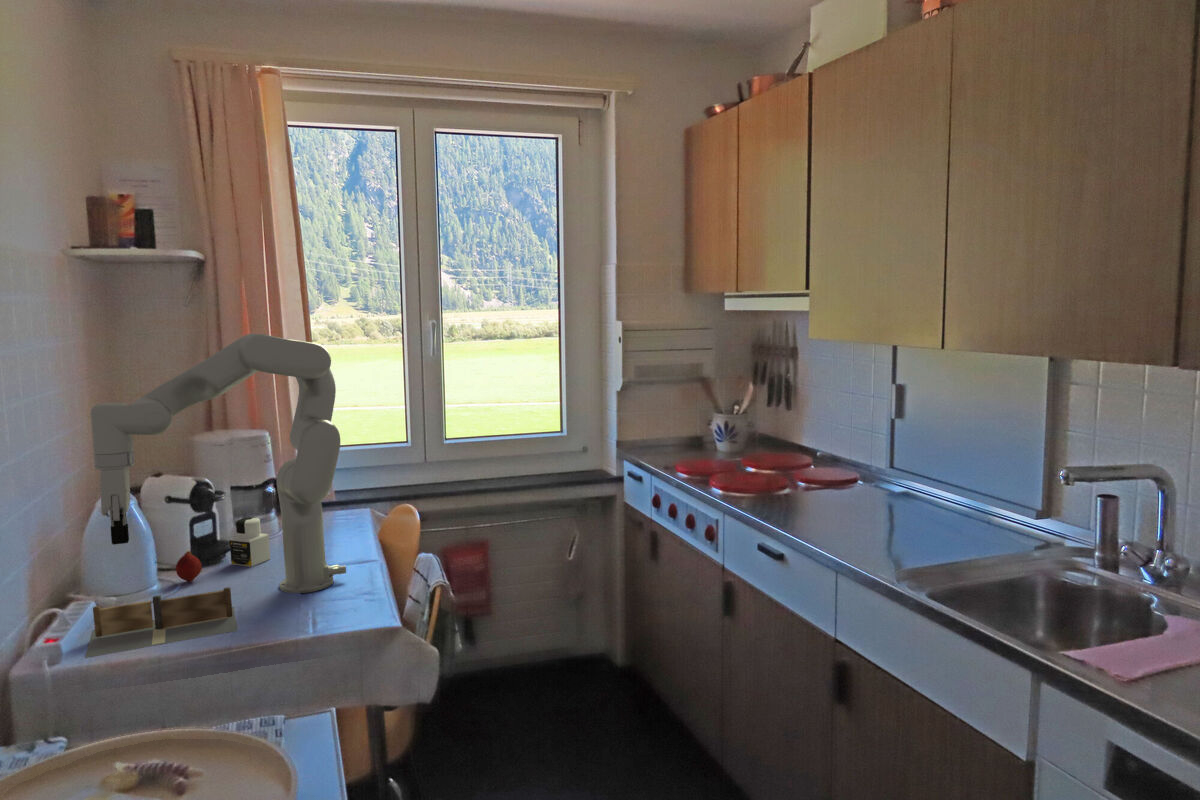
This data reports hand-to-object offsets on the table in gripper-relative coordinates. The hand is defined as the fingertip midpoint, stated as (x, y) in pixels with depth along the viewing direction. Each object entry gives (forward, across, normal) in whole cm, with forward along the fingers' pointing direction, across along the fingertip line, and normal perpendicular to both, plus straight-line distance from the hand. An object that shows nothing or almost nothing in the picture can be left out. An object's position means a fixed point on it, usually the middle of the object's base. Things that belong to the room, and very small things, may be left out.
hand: (120, 542), depth 185 cm
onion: (+18, -24, +12) cm, 33 cm away
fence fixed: (+18, +8, +14) cm, 24 cm away
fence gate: (+17, +8, 0) cm, 19 cm away
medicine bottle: (+18, -34, +27) cm, 47 cm away
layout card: (+18, +10, +8) cm, 22 cm away
